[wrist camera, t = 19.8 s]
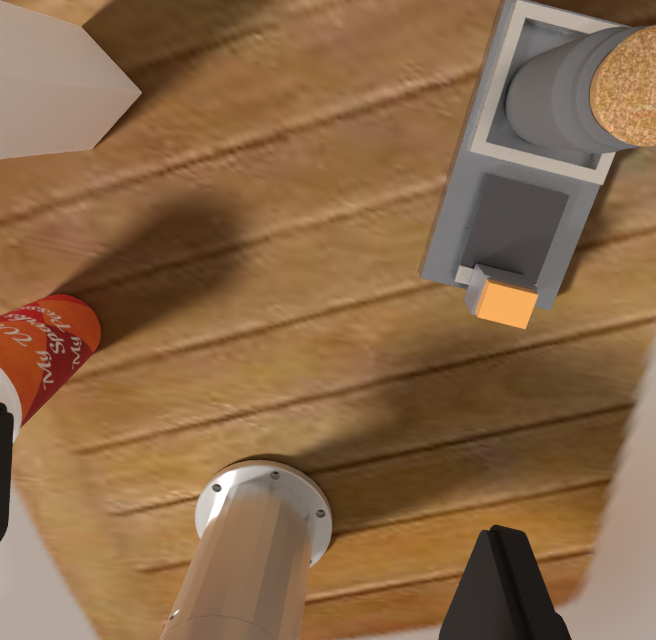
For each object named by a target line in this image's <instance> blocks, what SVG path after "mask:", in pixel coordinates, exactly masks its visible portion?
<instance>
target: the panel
mask: <svg viewBox="0 0 656 640" xmlns="http://www.w3.org/2000/svg"><path fill="white" fill-rule="evenodd" d="M611 27H630V26H626V25H622V24H618V23H614V22H611V21H607V20H603V19H599V18H595V17H591V16H587V15H583V14H580V13H576V12H572V11H568V10H564V9H560V8H556V7H552V6H549V5H545V4H541V3H537V2H533V1H529V0H501V1H500V4H499V7H498V11H497V14H496V17H495V21H494V24H493V27H492V30H491V34H490V37H489V40H488V44H487V47H486V50H485V53H484V57H483V60H482V63H481V67H480V70H479V73H478V77H477V80H476V83H475V86H474V90H473V93H472V96H471V100H470V103H469V106H468V109H467V113H466V116H465V119H464V123H463V126H462V129H461V132H460V136H459V139H458V142H457V146H456V149H455V152H454V156H453V159H452V162H451V165H450V169H449V172H448V175H447V179H446V182H445V185H444V188H443V192H442V195H441V198H440V202H439V205H438V208H437V211H436V215H435V218H434V221H433V225H432V228H431V231H430V235H429V238H428V241H427V244H426V248H425V251H424V254H423V258H422V261H421V264H420V267H419V275H420V278H423V279H427V280H431V281H435V282H439V283H443V284H447V285H451V286H455V287H459V288H463V289H468V286H469V283H470V280H471V277H472V274H473V271H474V268H475V265H476V263H477V264H481V265H485V266H489V267H493V268H497V269H501V270H505V271H509V272H513V273H517V274H521V275H525V276H526V277H527V278H528V279H529V280H530V281H531V282H532V283H533V284H534V285H535V286H536V287H537V288H538V290H537V294H538V297H537V300H536V303H535V305H534V306H535V307H539V308H543V309H546V310H550V311H551V308H552V306H553V303H554V301H555V298H556V296H557V293H558V291H559V288H560V286H561V283H562V281H563V278H564V276H565V273H566V271H567V268H568V266H569V263H570V261H571V258H572V255H573V253H574V250H575V248H576V245H577V243H578V240H579V238H580V235H581V233H582V230H583V228H584V225H585V223H586V220H587V218H588V215H589V213H590V210H591V208H592V205H593V203H594V200H595V198H596V195H597V192H598V190H599V187H600V185H603V183H604V181H605V178H606V176H607V173H608V171H609V168H610V166H611V163H612V161H613V158H614V156H615V153H616V152H613V153H603V154H597V153H587V152H579V151H572V150H565V149H559V148H552V147H546V146H540V145H536V144H532V143H530V142H527V141H525V140H524V139H522V138H521V137H519V136H518V135H517V134H516V133H515V131H514V130H513V129H512V127H511V126H510V124H509V122H508V119H507V116H506V110H505V98H506V92H507V89H508V86H509V84H510V82H511V80H512V78H513V76H514V75H515V73H516V72H517V71H518V70H519V69H520V67H521V66H522V65H523V64H525V63H526V62H527V61H529V60H530V59H532V58H533V57H535V56H537V55H539V54H541V53H543V52H546V51H548V50H551V49H553V48H556V47H558V46H561V45H563V44H566V43H568V42H571V41H573V40H575V39H578V38H580V37H583V36H586V35H588V34H591V33H594V32H597V31H600V30H603V29H606V28H611ZM631 28H632V27H631Z"/></svg>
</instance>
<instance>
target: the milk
mask: <svg viewBox="0 0 656 640" xmlns="http://www.w3.org/2000/svg"><path fill="white" fill-rule="evenodd" d="M141 94H142V92H141V90H140V89H139V88H138V87H137V86H136V85H135V84H134V83H133V82H132V81H131V80H130V79H129V77H128V76H127V75H126V74H125V73H124V72H123V71H122V70H121V69H120V68H119V67H118V66H117V65H116V64H115V62H114V61H113V60H112V59H111V58H110V57H109V56H108V55H107V54H106V53H105V52H104V51H103V50H102V48H101V47H100V46H99V45H98V44H97V43H96V42H95V41H94V40H93V39H92V38H91V37H90V36H89V34H88V33H87V32H86V31H85V30H84V29H83V28H82V27H81V26H78V25H75V24H72V23H69V22H66V21H63V20H60V19H56V18H53V17H50V16H47V15H44V14H41V13H38V12H35V11H32V10H29V9H26V8H23V7H20V6H16V5H13V4H10V3H7V2H4V1H1V0H0V159H5V158H14V157H24V156H34V155H43V154H53V153H63V152H72V151H82V150H91V149H93V148H94V147H95V145H96V144H97V143H98V142H99V141H100V140H101V139H102V138H103V136H104V135H105V134H106V133H107V132H108V131H109V130H110V129H111V127H112V126H113V125H114V124H115V123H116V122H117V121H118V120H119V119H120V117H121V116H122V115H123V114H124V113H125V112H126V111H127V110H128V108H129V107H130V106H131V105H132V104H133V103H134V102H135V101H136V99H137V98H138V97H139V96H140V95H141Z"/></svg>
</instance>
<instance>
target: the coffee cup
mask: <svg viewBox="0 0 656 640" xmlns="http://www.w3.org/2000/svg"><path fill="white" fill-rule="evenodd" d="M100 340H101V326H100V322H99V319H98V317H97V315H96V314H95V312H94V311H93V310H92V309H91V307H90V306H89V305H87V304H86V303H85V302H84V301H82V300H80V299H79V298H76V297H74V296H71V295H66V294H57V295H52V296H48V297H45V298H43V299H40V300H37V301H35V302H32V303H30V304H27V305H25V306H23V307H20V308H18V309H15V310H13V311H11V312H8V313H6V314H4V315H1V316H0V402H1V403H4V404H5V405H6V407H7V412H10V413H12V414H13V416H14V429H13V442H14V441H15V439H16V438H17V436H18V434H19V431H20V428H21V427H22V426H23V425H24V424H25V423H26V422H27V421H28V420H29V419H30V418H31V417H32V416H33V415H34V414H35V413H36V412H37V411H38V410H39V409H40V408H41V407H42V406H43V405H44V404H45V403H46V402H47V401H48V400H49V399H50V398H51V397H52V396H53V395H54V394H55V393H56V392H57V391H58V390H59V389H60V388H61V387H62V386H63V384H64V383H65V382H66V381H67V380H68V379H69V378H70V377H71V376H72V375H73V374H74V373H75V372H76V371H77V370H78V369H79V368H80V367H81V366H82V365H83V364H84V363H85V362H86V361H87V359H88V358H89V357H90V356H91V355H92V354H93V353H94V351H95V350H96V349H97V347H98V345H99V343H100Z"/></svg>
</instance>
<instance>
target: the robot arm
mask: <svg viewBox="0 0 656 640" xmlns="http://www.w3.org/2000/svg"><path fill="white" fill-rule="evenodd" d="M13 429H14V416H13V414H12V413H10V412H7V407H6V405H5V404H4V403H1V402H0V541H1V540H2V538H3V536H4V535H5V532H6V530H7V527H8V518H9V501H10V500H9V499H10V483H11V465H12V447H13ZM332 521H333V518H332V513H331V508H330V505H329V503H328V500H327V498H326V496H325V495H324V493H323V492H322V490H321V489H320V487H319V486H318V485H317V484H316V483H315V482H314V481H313V480H312V479H311V478H309V477H308V476H306V475H305V474H304V473H302V472H301V471H299V470H297V469H295V468H293V467H291V466H289V465H286V464H282V463H279V462H275V461H267V460H248V461H244V462H239V463H235V464H233V465H231V466H228V467H226V468H224V469H222V470H221V471H219V472H218V473H216V474H215V475H214V476H213V477H212V478H211V479H210V480H209V481H208V482H207V484H206V485H205V487H204V489H203V490H202V492H201V494H200V497H199V499H198V501H197V505H196V510H195V525H196V529H197V533H198V536H199V538H200V542H199V544H198V547H197V549H196V552H195V554H194V557H193V559H192V562H191V564H190V566H189V569H188V571H187V574H186V576H185V579H184V581H183V584H182V586H181V589H180V591H179V594H178V596H177V598H176V601H175V603H174V606H173V608H172V611H171V613H170V616H169V618H168V621H167V623H166V625H165V628H164V630H163V633H162V635H161V638H160V640H300V633H301V626H302V618H303V611H304V604H305V597H306V589H307V582H308V575H309V568H311V567H312V566H313V565H314V564H315V563H316V562H318V561H319V560H320V558H321V557H322V556H323V554H324V553H325V552H326V550H327V547H328V545H329V543H330V539H331V534H332ZM439 640H572V639H571V637H570V634H569V632H568V629H567V626H566V624H565V622H564V620H563V618H562V617H561V616H560V615H559V614H558V613H556V612H555V610H554V607H553V605H552V602H551V599H550V597H549V594H548V591H547V589H546V586H545V583H544V581H543V578H542V575H541V573H540V570H539V567H538V565H537V562H536V559H535V557H534V554H533V551H532V549H531V546H530V543H529V541H528V538H527V536H526V534H525V533H524V532H523V531H520V530H516V529H512V528H508V527H503V526H499V525H493V526H492V527H491V529H490V530H489V531H488V530H482V531H481V533H480V534H479V537H478V539H477V542H476V544H475V546H474V549H473V551H472V554H471V556H470V559H469V561H468V564H467V566H466V568H465V571H464V573H463V576H462V578H461V581H460V583H459V585H458V588H457V590H456V593H455V595H454V598H453V600H452V603H451V605H450V607H449V610H448V612H447V615H446V617H445V620H444V622H443V624H442V627H441V630H440V634H439Z"/></svg>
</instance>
